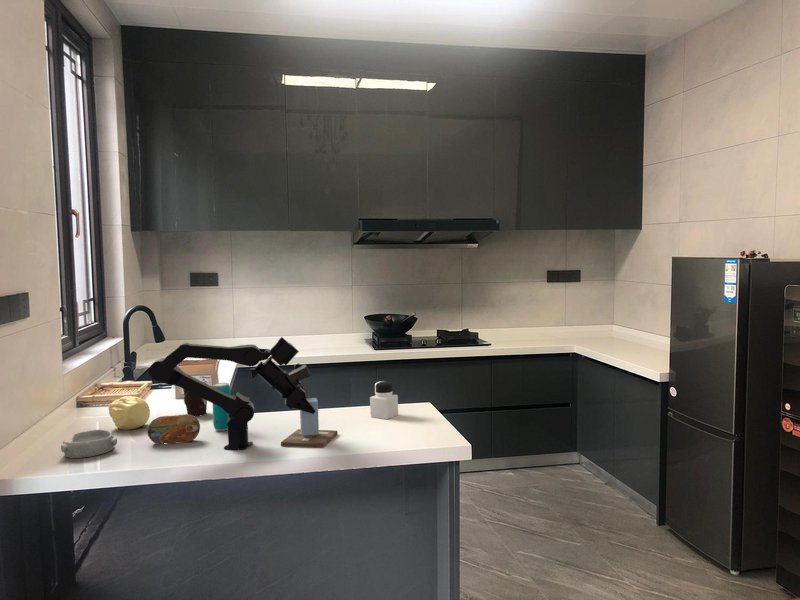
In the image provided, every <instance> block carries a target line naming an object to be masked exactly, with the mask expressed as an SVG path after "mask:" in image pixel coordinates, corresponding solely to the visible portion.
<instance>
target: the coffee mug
mask: <svg viewBox="0 0 800 600" xmlns="http://www.w3.org/2000/svg"><path fill="white" fill-rule="evenodd" d="M182 389H183V388H182ZM183 395H184V397H183V403H184V405H185V408H186V414H190V415H193V416H196V417H201V416H200V415H202V416H205V415H207V410H208V409H207V408H208V406H207V405H208V401H207V400H205V399H203V398H201V397H199V396H197V395H195V394H193V393H191V392H189V391H187V390H185V389H183ZM204 414H205V415H204Z"/></svg>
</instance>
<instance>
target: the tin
mask: <svg viewBox="0 0 800 600" xmlns="http://www.w3.org/2000/svg"><path fill="white" fill-rule="evenodd" d="M200 431H201V423H200V421H199V419H198V418H197V416H196V417H194V416H193V415H190V414H187V413H185V414H175V415H163V416H158V417H156V418H154V419H153V420H152V421H151V422H150V423H149V424H148V427H147V436H148V438H149V439H150V440H151V442H153V443H154V444H156V445H165V444H164V443H173V444H177V443H176V442H185V443H190V442H192V441H193V440H195V439H197V437H198V436H199V433H200Z"/></svg>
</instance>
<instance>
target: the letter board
mask: <svg viewBox="0 0 800 600" xmlns="http://www.w3.org/2000/svg"><path fill="white" fill-rule="evenodd" d="M336 436H338V430H336V429H335V430H330V429H329V430H328V429H326V430H325V429H319V434H315V435H303V436H302V434H301V428H299V429H296V430H295V431H294V432H293V433H291V434H290V435H288V436H287V437H286V438H285V439H283V440H282V441H281V442H280V447H297V448H298V447H299V448H321V449H324V447H325V446H327V445H328V444H329V443H330V442H331V441H333V439H334V438H335V437H336Z"/></svg>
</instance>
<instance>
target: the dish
mask: <svg viewBox="0 0 800 600" xmlns="http://www.w3.org/2000/svg"><path fill="white" fill-rule="evenodd" d="M117 444H118V438H114V435H113V431H110V430H107V429H92V430H90V429H89V430H86V431H80V432H76V433H74V434H73V436H72V438H71V440H70V441H66V440H63V441H62V444H61V445H60V450H61V453H64V456H65V457H66V458H69V459H80V458H81V459H82V458H90V457H95V456H100V455H102V454H106V453H108V452H111V451H113V449H114V447H116V446H117Z"/></svg>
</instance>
